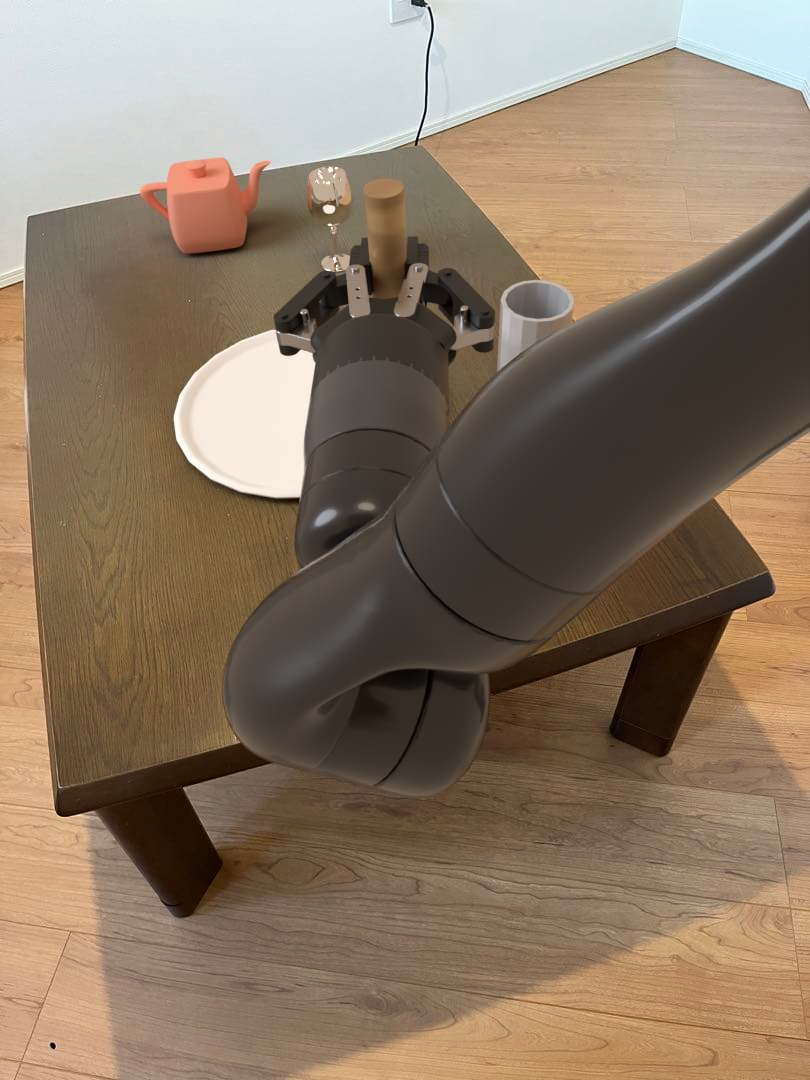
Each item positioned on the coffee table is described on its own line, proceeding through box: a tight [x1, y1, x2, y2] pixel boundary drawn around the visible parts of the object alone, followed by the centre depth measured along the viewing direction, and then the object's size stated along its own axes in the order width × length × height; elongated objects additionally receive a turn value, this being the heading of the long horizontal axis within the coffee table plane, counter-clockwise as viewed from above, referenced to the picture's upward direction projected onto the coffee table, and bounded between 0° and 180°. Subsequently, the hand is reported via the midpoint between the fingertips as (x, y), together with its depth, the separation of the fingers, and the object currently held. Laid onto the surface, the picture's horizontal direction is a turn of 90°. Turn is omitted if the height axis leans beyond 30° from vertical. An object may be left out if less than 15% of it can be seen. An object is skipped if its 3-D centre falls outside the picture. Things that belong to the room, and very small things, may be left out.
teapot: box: [139, 157, 272, 254], centre depth 114 cm, size 12×18×10 cm, turn 100°
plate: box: [173, 329, 315, 499], centre depth 92 cm, size 29×29×1 cm
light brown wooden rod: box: [363, 178, 407, 299], centre depth 57 cm, size 3×3×20 cm
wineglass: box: [306, 165, 354, 273], centre depth 107 cm, size 6×6×12 cm
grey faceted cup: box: [496, 279, 576, 373], centre depth 89 cm, size 7×7×11 cm
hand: (390, 250), depth 55 cm, fingers closed on light brown wooden rod, 2 cm apart
